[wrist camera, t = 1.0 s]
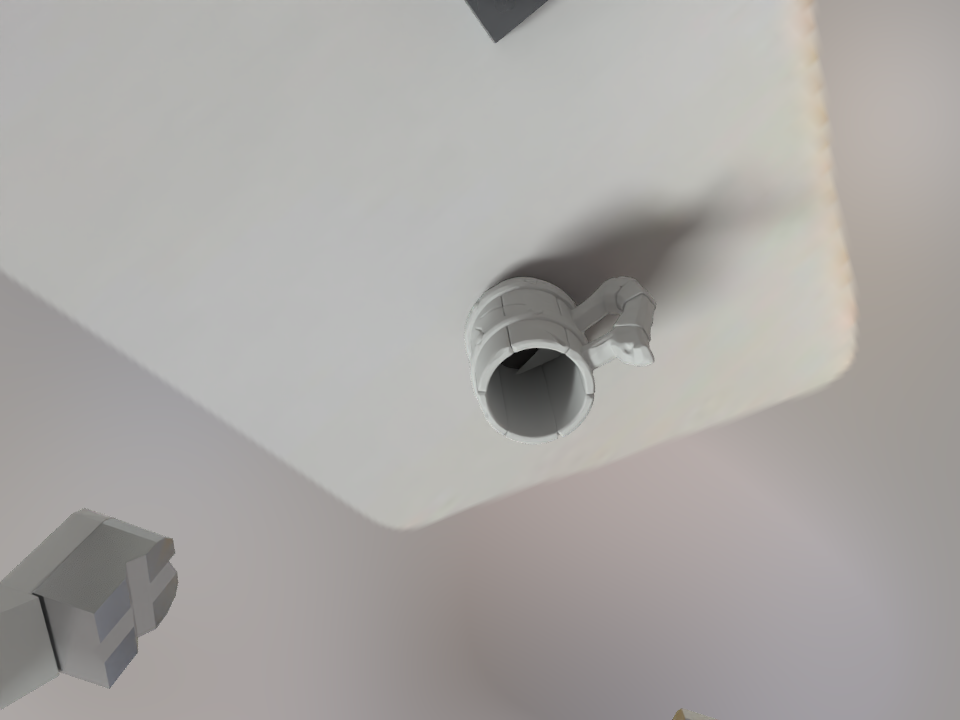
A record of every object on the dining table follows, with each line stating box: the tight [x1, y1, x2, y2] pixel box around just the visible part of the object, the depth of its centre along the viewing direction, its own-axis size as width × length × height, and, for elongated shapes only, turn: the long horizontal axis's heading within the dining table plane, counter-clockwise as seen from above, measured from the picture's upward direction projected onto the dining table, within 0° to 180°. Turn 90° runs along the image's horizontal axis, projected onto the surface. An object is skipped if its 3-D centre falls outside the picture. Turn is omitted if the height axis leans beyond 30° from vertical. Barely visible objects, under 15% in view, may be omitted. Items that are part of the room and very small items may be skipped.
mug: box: [464, 276, 656, 444], centre depth 43 cm, size 8×12×12 cm, turn 121°
